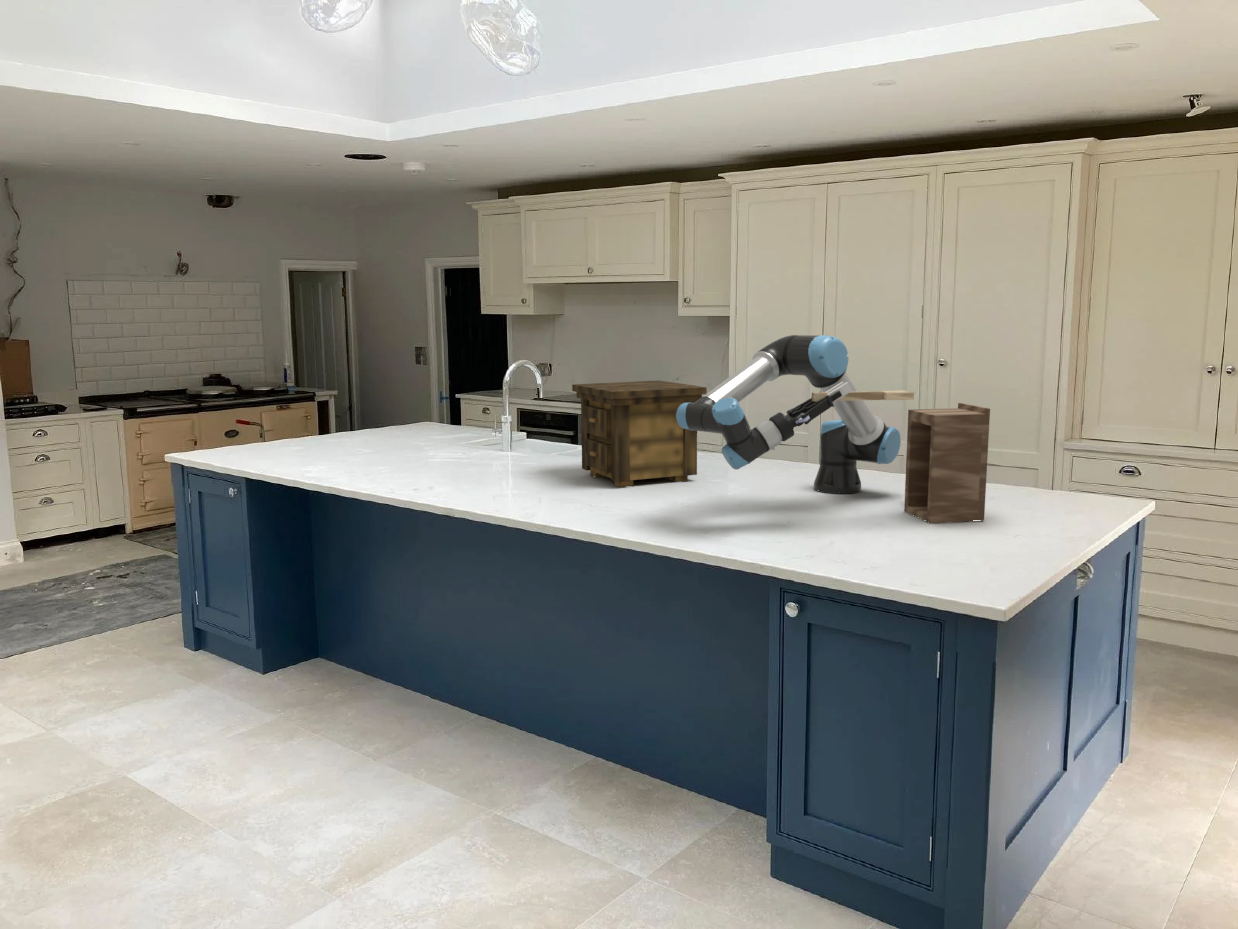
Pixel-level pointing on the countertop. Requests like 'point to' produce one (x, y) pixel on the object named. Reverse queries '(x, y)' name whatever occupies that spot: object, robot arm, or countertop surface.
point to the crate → (637, 430)
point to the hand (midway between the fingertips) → (847, 386)
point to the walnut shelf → (947, 463)
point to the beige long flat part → (869, 395)
